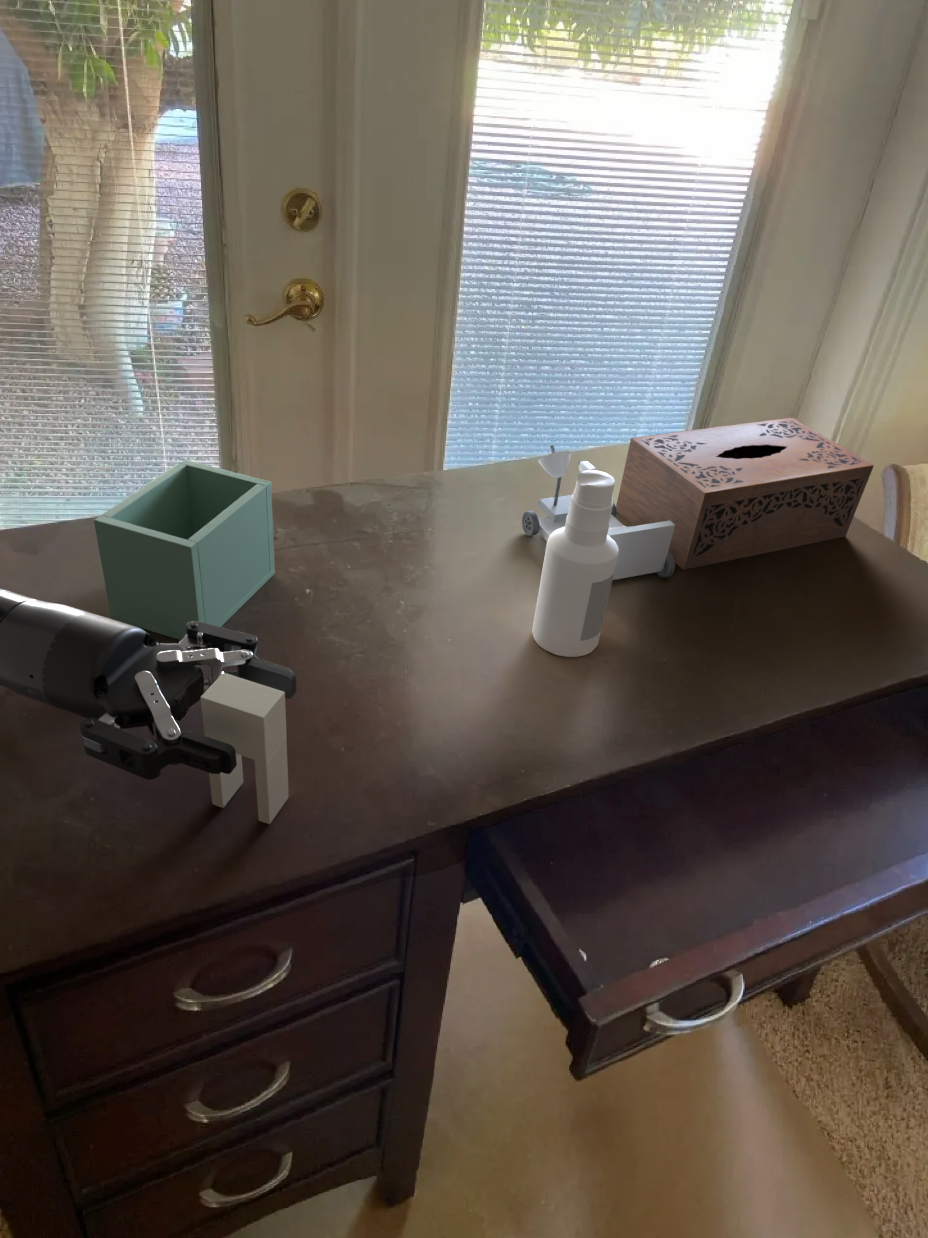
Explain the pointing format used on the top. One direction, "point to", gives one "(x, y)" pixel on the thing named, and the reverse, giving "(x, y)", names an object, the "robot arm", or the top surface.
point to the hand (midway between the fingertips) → (265, 721)
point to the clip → (249, 739)
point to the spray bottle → (578, 571)
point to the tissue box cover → (742, 489)
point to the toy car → (636, 544)
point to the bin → (187, 548)
